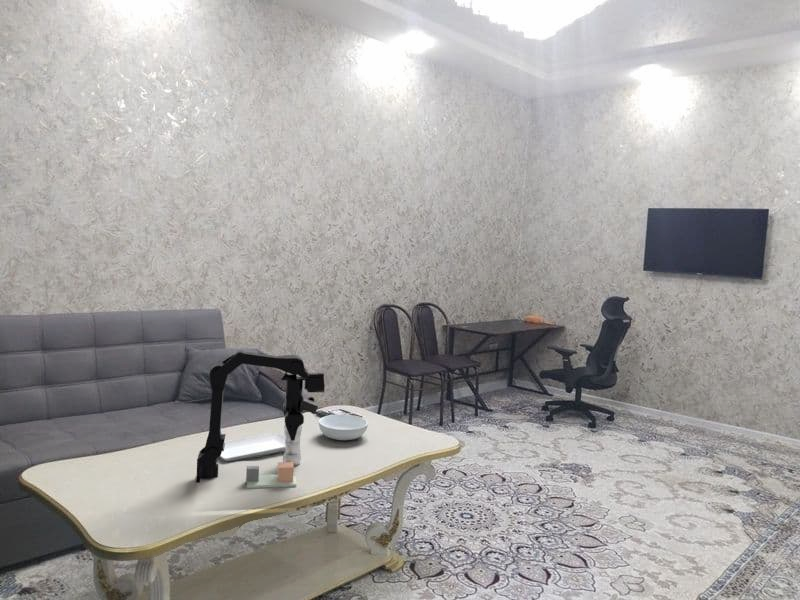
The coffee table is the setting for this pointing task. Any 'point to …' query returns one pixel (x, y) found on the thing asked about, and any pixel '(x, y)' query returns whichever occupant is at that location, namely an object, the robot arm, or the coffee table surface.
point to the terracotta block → (285, 471)
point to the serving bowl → (343, 426)
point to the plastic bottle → (292, 447)
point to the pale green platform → (265, 479)
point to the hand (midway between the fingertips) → (292, 436)
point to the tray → (253, 446)
